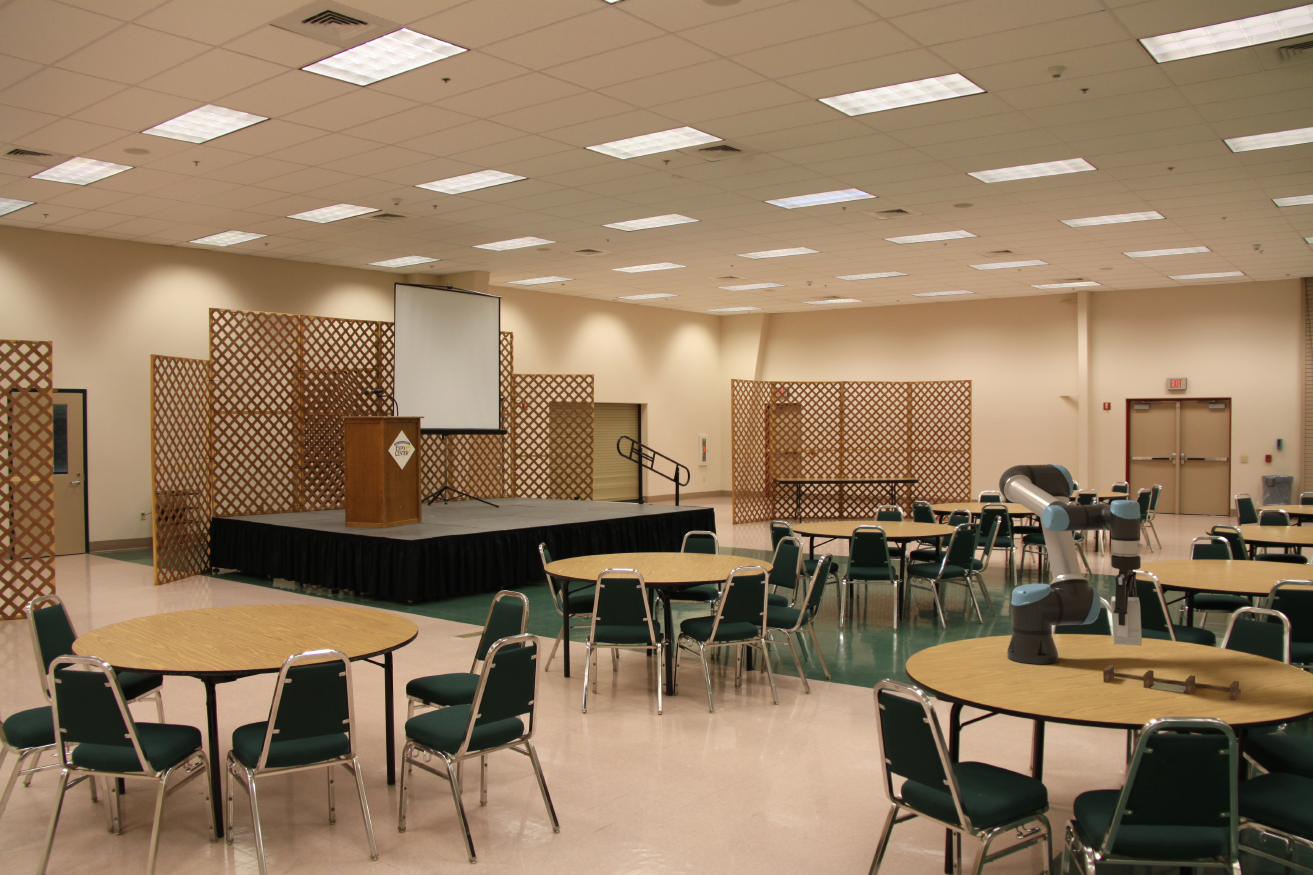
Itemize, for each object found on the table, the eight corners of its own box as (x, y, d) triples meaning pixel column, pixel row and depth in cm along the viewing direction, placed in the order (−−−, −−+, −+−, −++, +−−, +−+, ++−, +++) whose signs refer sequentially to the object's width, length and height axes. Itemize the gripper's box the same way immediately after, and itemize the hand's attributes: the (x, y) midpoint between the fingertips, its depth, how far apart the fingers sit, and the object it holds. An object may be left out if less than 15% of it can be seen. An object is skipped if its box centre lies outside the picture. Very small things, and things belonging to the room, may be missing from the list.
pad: (1150, 688, 259) (1150, 687, 259) (1155, 683, 264) (1155, 682, 264) (1183, 692, 254) (1183, 691, 254) (1187, 687, 259) (1187, 686, 259)
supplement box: (1141, 640, 268) (1140, 596, 268) (1141, 646, 261) (1140, 601, 261) (1113, 638, 271) (1111, 595, 271) (1112, 644, 265) (1110, 600, 265)
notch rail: (1103, 681, 267) (1103, 669, 267) (1111, 675, 274) (1111, 663, 274) (1235, 699, 246) (1235, 686, 246) (1240, 692, 254) (1240, 679, 254)
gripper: (1131, 560, 256) (1132, 642, 256) (1148, 551, 272) (1149, 628, 272) (1102, 557, 260) (1102, 638, 261) (1120, 549, 277) (1121, 625, 277)
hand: (1126, 633), depth 266 cm, fingers closed on supplement box, 8 cm apart
